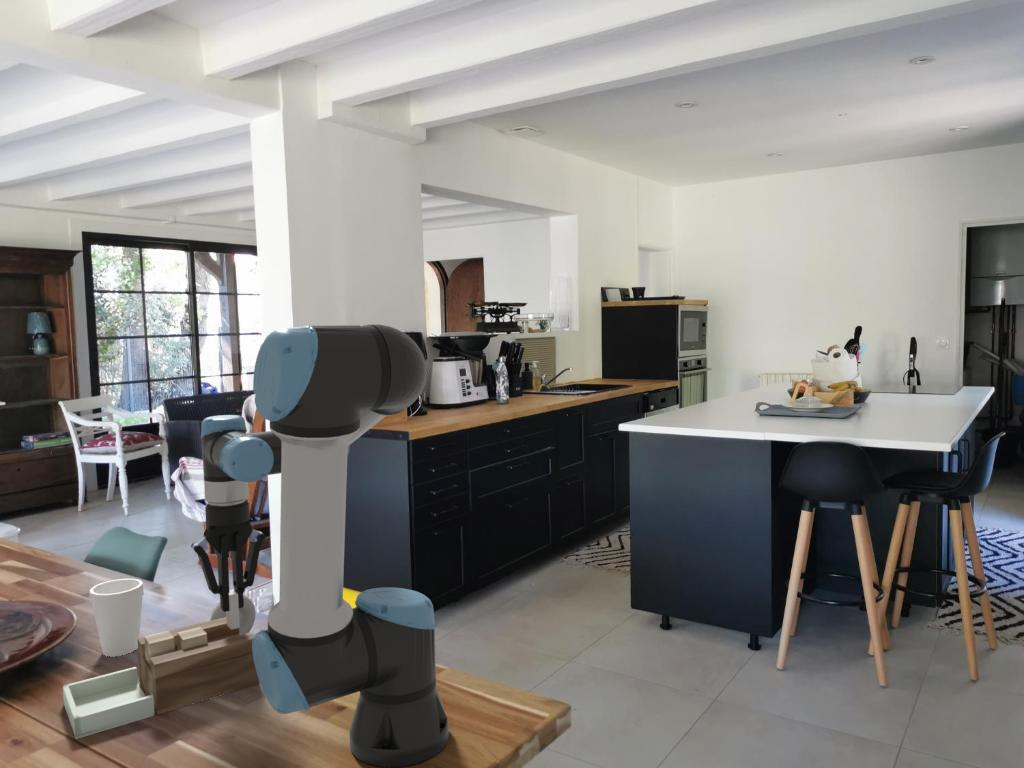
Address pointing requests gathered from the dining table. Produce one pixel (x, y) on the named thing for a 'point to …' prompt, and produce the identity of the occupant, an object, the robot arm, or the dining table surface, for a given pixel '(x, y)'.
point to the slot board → (199, 667)
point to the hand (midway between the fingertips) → (233, 626)
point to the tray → (106, 702)
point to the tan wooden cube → (159, 644)
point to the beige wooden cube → (191, 638)
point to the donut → (245, 615)
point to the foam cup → (118, 614)
